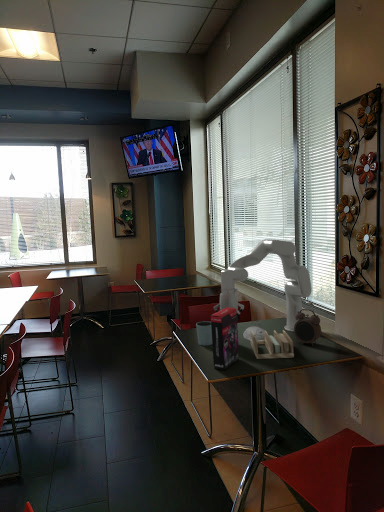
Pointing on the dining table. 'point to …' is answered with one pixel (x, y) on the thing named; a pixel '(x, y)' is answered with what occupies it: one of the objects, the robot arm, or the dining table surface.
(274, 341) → the sage offcut
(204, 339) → the grey cylindrical cup
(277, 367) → the dining table surface
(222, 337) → the graphics card box
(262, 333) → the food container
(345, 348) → the dining table surface
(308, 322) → the alarm clock
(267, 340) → the rack
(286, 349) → the plywood offcut
